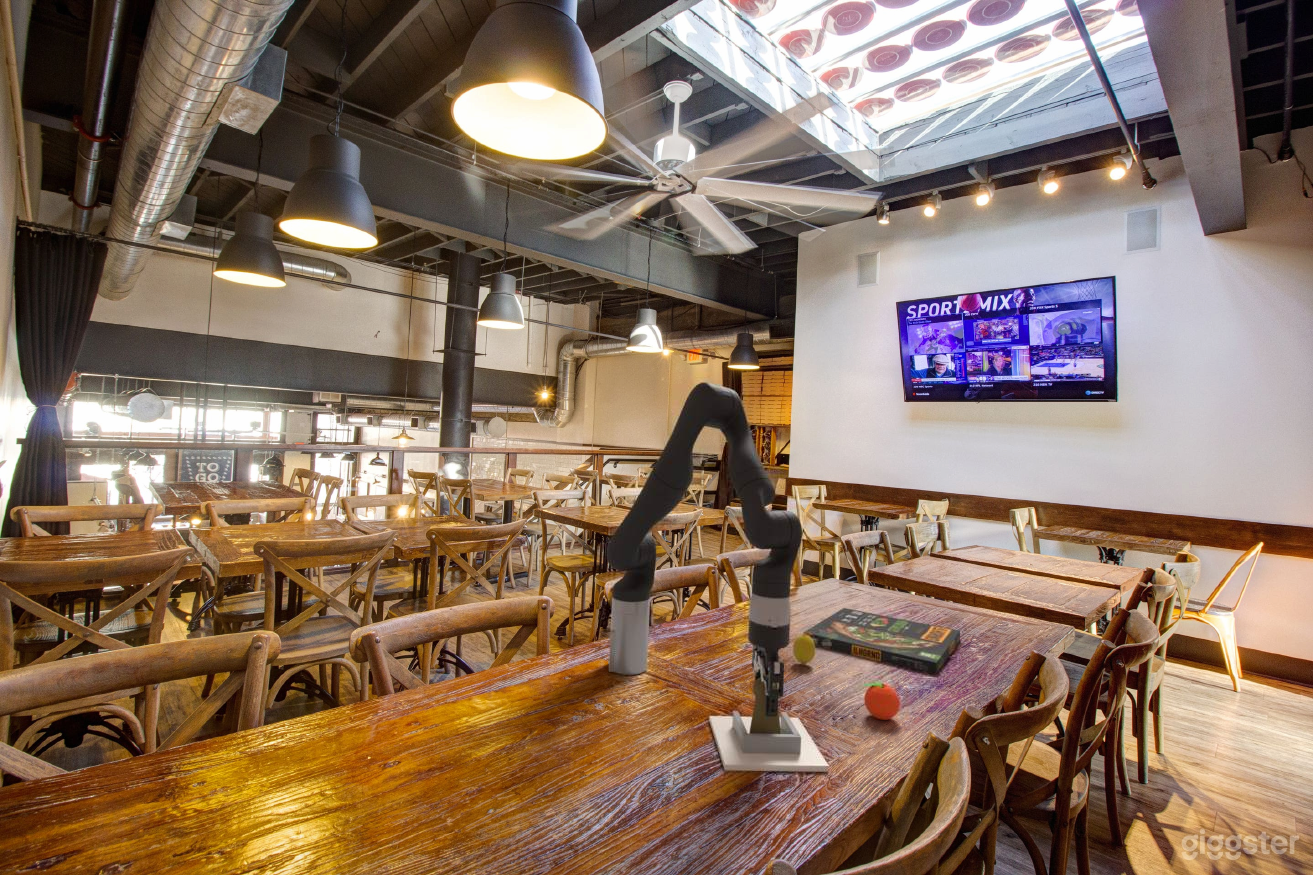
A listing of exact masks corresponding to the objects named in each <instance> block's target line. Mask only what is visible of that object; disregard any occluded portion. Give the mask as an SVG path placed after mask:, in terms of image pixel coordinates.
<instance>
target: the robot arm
mask: <svg viewBox="0 0 1313 875" xmlns="http://www.w3.org/2000/svg"><path fill="white" fill-rule="evenodd" d="M705 427H707V428H712V429H718V430H720V431H721V433H722V434H723V436H724V437H725V439H726V441H727V443H728V446H729V456H728V462H727V463H728V465H727V466H728V469H727V470H728V474H729V478H730V481H731V483H732V485H733V488H734V490H735V493H736V494H737V496H738V499H739V501H740V507H741V513H742V514H741V515H742V522H743V529H744V533H745V537H746V539H747V540H748V542H749V543H750V544H751V545H752V546H753V547H754V548H756V549H758V550H770V551H769V554H768V556H767V557H765V558H763V559H761V560H759V561H756V562H755V564H753V567H752V576H751V577H752V578H751V579H752V580H751V594H750V600H749V610H748V612H749V613H748V630H747V631H748V632H747V639H748V642H749V643H750V644H751V645H752V659H751V667H752V668H753V669H752V670H753V674H754V682H755V681H756V680H757V679H759V678H761V680H762V682H763V683H764V684H765V715H766V716H768V717H776V716H777V714H778V708H779V699H778V697H780V698H781V697H783V696H784V682H785V681H784V680H785V676H784V675H785V663H784V661H782V660H781V656H780V655H779V651H780V650H781V649H785V648H787V647H788V646H789V645H790V632H791V630H790V629H791V612H792V611H791V610H792V609H791V585H792V584H791V583H792V582H791V581H792V579H791V577H792V572H793V568H794V566H795V562H796V560H797V557H798V554H799V551H800V547H801V543H802V539H803V527H802V523H801V520H800V518H799V517H798V515H797V514H795V512H793V511H791V510H768V509H767V508H766V507H767V506H769V505H770V504H771V503H773V501H774V500H775V498H776V490H775V487H774V485H773V483H772V481H771V479H770V477H769V475H768V472H767V470H766V468H765V467H764V464H763V463H762V460H761V459H760V456H759V454H758V451H757V448H756V444H755V442H754V441H755V440H754V438H753V436H752V431H751V428H750V426H749V421H748V418H747V414H746V410H745V407H744V404H743V402H742V399H741V398H740V396H739V394H738V393H737V392H736V390H734V389H731V388H729V387H727V386H726V387H725V386H722V385H718V384H714V383H711V382H708V381H707V382H705V381H704V382H700V383H697V384H696V385H695V386H694V387H693V388H692V390H691V391H690V393H689V394H688V395H687V398H686V400H685V402H684V404H683V406H682V408H681V411H680V414H679V416H678V418H677V420H676V423H675V425H674V428H673V430H672V432H671V435H670V437H669V439H668V440H667V442H666V444H665V446H664V448H663V450H662V452H661V454H660V456H659V457H658V459H657V461H656V463H655V465H654V466H653V468H652V469H651V471H650V473H649V475H648V477H647V479H646V480H645V483H644V485H643V487H642V489H641V490H640V493H638V496H637V497H636V498H635V501H634V502H633V505H632V506H631V507H630V510H629V511H628V512H627V515H625V517H624V518H623V520H622V522H621V523H620V524H619V526H618V527H617V528H616V530H615V531H614V532H613V534H612V536H611V537H610V539H609V542H608V544H607V548H606V560H607V562H608V565H609V566H610V567H611V568H612V569H614V570H616V571H621V572H625V573H624V575H623V576H622V577H621V578H620V579H619V580H618V581H617V582H615V583H613V587H612V589H611V590H612V593H611V594H612V595H611V597H612V598H611V617H610V619H611V620H610V635H609V655H608V656H609V657H608V672H609V673H616V674H619V675H628V676H629V675H639V674H642V673H644V672H645V671H646V670H647V669H648V651H649V650H648V648H649V625H650V604H651V591H652V589H653V587H654V583H655V573H656V564H657V563H656V562H657V545H656V542H655V538H654V537H653V536H652V534H651V533H650V531H651V529H653V528H654V526H656V525H657V524H658V523H659V522H661V521H662V520H663V519H664V518H665V517H667V516H668V515H669V514H670V513H671V512H672V511H674V509H675V508H676V507H677V506H678V505H679V504H680V503H681V502H682V500H683V498H684V496H685V494H686V493H687V491H688V489H689V487H690V486H691V484H692V482H693V478H694V457H693V452H694V451H693V450H694V446H695V443H696V442H697V439H698V438H699V435H700V434H701V432H702V430H703V429H704V428H705ZM773 683H775V687H776V689H773V688H772V684H773Z"/></svg>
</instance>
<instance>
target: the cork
mask: <svg viewBox="0 0 1313 875" xmlns="http://www.w3.org/2000/svg"><path fill="white" fill-rule="evenodd" d="M772 688H773V689H776V687H775V683H773V684H772ZM752 692H753V695H754V697H755V698H754V704H753V710H752V716H751V717H752V721H751V726H750V732H749V734H781V731H780V719H779V717H780V711H779V710H780V709H779V707H778V714H777V716H776V717H768V716H766V715H765V684H764V683H763V682H762V680H761V678H759V679H757V680H756V681H755V680H754V682H753V685H752ZM780 698H781V697H778V700H779V699H780Z"/></svg>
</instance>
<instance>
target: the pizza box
mask: <svg viewBox="0 0 1313 875" xmlns="http://www.w3.org/2000/svg"><path fill="white" fill-rule="evenodd" d="M804 633H805V634H806V635H808V636H809V637H811V638H812V640H813V641H814V644H815V647H820V648H825V649H828V650H833V651H836V652H841V653H846V654H849V655H853V656H857V657H861V658H865V659H868V660H869V659H870V660H874V661H878V662H883V663H887V664H890V665H895V666H898V667H902V668H907V669H910V670H911V669H912V670H914V671H920V672H924V673H928V674H932V675H937V674H938V673H939V671H940V670H941V668H942V667H943V665H944V664H945V662H946V661H947V660H948V659H949V657H950V655H952V652H953V651H955V649H956V647H957V646H958V644H959V643H960V641H961V630H958V629H953V628H948V627H943V626H938V625H932V624H927V623H923V622H918V621H912V620H908V619H902V618H897V617H892V616H887V615H882V614H878V613H872V612H866V611H862V610H857V609H852V608H851V609H850V608H846V607H843V608H841V609H840V610H838V611H836V612H835V613H833V614H832V615H830V616H828V617H826V618H825V619H823V620H822V621H820V622H818V623H817V624H815V625H813V626H811V627H810V628H808V629H806V630H805V631H803V634H804Z"/></svg>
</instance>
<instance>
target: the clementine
mask: <svg viewBox="0 0 1313 875" xmlns="http://www.w3.org/2000/svg"><path fill="white" fill-rule="evenodd" d="M868 686H869V687H868ZM865 687H868V688H867V689H866V691H865V693H864V696H863V698H864V699H863V700H864V705H865V707H866V708H865V709H866V710H867V711H868V713H869V714H870V715H871V716H873V718H876V719H879V720H883V721H888V720H890V719H893V718H894V717H896V715H897V714H898V712H900V706H901V703H900V702H901V701H900V699H899V695H898V693H897V692H896V690H894V688H893V687H891V686H890V685H888V684H885V683H881V682H879V683H876V682H872V683H871V682H870V683H868V684H865V685H863V686H862V687H861V688H860V690H859V692H861V691H862V689H863V688H865Z"/></svg>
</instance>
